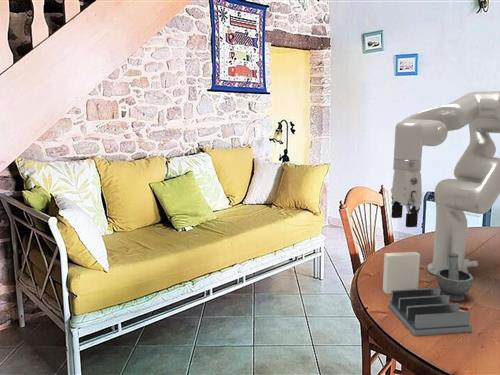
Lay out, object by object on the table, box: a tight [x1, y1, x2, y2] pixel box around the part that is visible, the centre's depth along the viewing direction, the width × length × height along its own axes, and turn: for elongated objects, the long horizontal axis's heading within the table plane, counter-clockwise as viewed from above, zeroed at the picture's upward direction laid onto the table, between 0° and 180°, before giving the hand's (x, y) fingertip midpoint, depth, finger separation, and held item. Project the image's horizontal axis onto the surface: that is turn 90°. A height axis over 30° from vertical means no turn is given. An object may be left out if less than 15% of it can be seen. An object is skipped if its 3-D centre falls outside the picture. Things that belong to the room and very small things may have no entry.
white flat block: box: [382, 251, 421, 295], centre depth 134 cm, size 2×10×12 cm, turn 96°
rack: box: [388, 286, 473, 337], centre depth 118 cm, size 16×15×5 cm
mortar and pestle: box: [436, 253, 474, 302], centre depth 131 cm, size 11×9×12 cm
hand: (403, 222), depth 131 cm, fingers open, 9 cm apart
